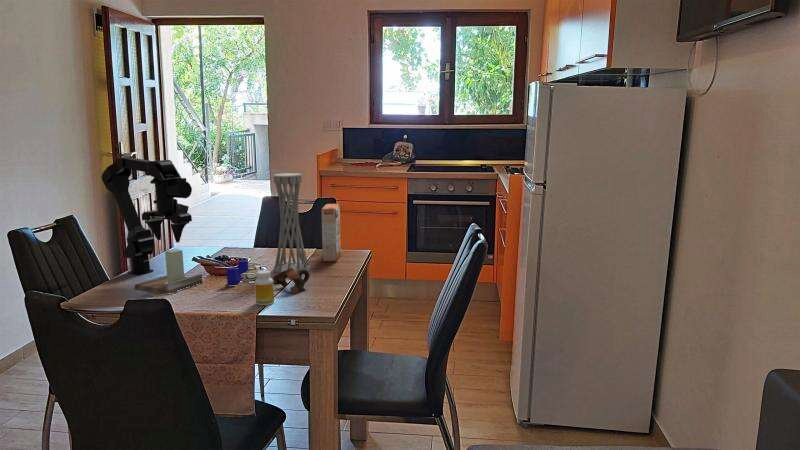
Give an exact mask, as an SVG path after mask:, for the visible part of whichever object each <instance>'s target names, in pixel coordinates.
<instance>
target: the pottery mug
mask: <svg viewBox="0 0 800 450" xmlns="http://www.w3.org/2000/svg"><path fill="white" fill-rule="evenodd" d="M303 275H304V278H302V276H303ZM272 279H273V286H278V285H281V286H282V287H283V288H285V287H287V286H288V282H287V281H286V279H289V280H291V281H292V282H293V283H294V285H293V286H292V287H290V289H289V290H290V291H291V294H292V295H294V294H297V293H299V292H302V291H304V290H305V284H306V283H307V282H308V281H309V279H310V272H309V271H307V270H300V271H298V272H296V271H294V270H293V268H289V269H287V270H285V271H283V272H281V273H279V274H278V273H276V275H274V276H273V277H272Z"/></svg>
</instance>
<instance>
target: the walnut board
mask: <svg viewBox="0 0 800 450" xmlns="http://www.w3.org/2000/svg"><path fill="white" fill-rule="evenodd" d="M184 278H185V279H181V280H178V281H175V282H171V283H168V281H167V274H166V275H163V276H160V277H157V278H156V277H155V278H152V279H150V280H146V281H142V282H139V283H135V284H134V288H135V289H136V290H143V291H148V292H156V293H161V294H165V293H171V294H173V293H172V292H174V293H176V292H175V291H177V290H180V289H183V288H186V287H189V286H193V285H196V284H199V283H202V284H203V274H202V273H198V274H194V275H192V276H188V277H185V276H184ZM199 285H200V284H199ZM196 286H197V285H196ZM193 287H194V286H193Z"/></svg>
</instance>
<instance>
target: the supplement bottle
mask: <svg viewBox="0 0 800 450" xmlns="http://www.w3.org/2000/svg"><path fill="white" fill-rule="evenodd" d="M273 283H274V280H273V277H271V271H270V270H266V269H265V270H264V269H263V270H258V271H256V279H254V294H255V304H256V305H257V304H258V306H261V305H265V306H270V305H273V304H274V302H275V296H274V295H275V294H274V292H275V291H274V284H273Z"/></svg>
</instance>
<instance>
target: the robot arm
mask: <svg viewBox="0 0 800 450" xmlns="http://www.w3.org/2000/svg"><path fill="white" fill-rule="evenodd" d="M133 171H137V172H144V173H146V174H147V175H148V176H150V177H153V179H151V180H150V181H149V182H150V184H151V185H154V189H155V199H153V204H156V210H155V209H154V210H153V209H152V210H148V211H143V212H142V213H141V220H140V217H139V214H138V212H137V209H136V207H135V204H134V202H133V198H132V196H131V194H130V191H129V187H130V182H131V181H130V177H131V176H132V174H133ZM100 177H101V180H102V183H103V185H104V187H105V188H106V190H107V191H109V192H110V193H111V194H112V195H113V196H114V199H115V201H116V204H117V206H118V208H119V209H118V210H119V211H120V214H121V216H122V219H123V222H124V224H125V227H126V229H127V231H128V232H127V235H126V242H127V246H126V247H125V249H124V250H123V252H122V253H123V255H124V258H126V259H129V263H130V264H129V266H130V270H129V271H126V273H127V274H131V275H138V276H139V275H140V276H141V275H143V274H147V273H152V272H153V271H154V269H151V265H150V260H149V255H153V254H154V248H155V238H156V240H157V241H161V240H162V223H163V221H164V220H167V221H170V222H171V223H170V228H171V231H172V234H173V237H174V239H175V240H174V241H175V243H180V241H181V239H182V235H183V231H184V229H185V227H186V225H188V224H190V222H193V219H192V217H193V216H192V214H190V212H189V205H185V204H181V203H179V202H178V200H177V199H188V198H189V197H190V196H191V194H192V192H193V191H192V190H193V189H192V186H191V184H190V182H188V181H187V178H186V177H182V176H181V175H180V172H179V171H178V170H177V168H176V167H175V165H174V163H173V161H172V160H170V159H165V160H164V159H163V160H148V159H143V158H142V159H141V158H135V157H133V156H121V157H118V158H117V159H116V160H115V161H114V162H113V163H111V164H110V165H109V166H107V167H106V168H105V169H104V171H103V172H102V174H101V176H100ZM188 212H189V213H188ZM141 221H144V223H145V224H146V225H147V226H148V228H147V229H146V228H145V227H143V224H142V222H141ZM152 233H153V234H152ZM153 235H154V236H153Z"/></svg>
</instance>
